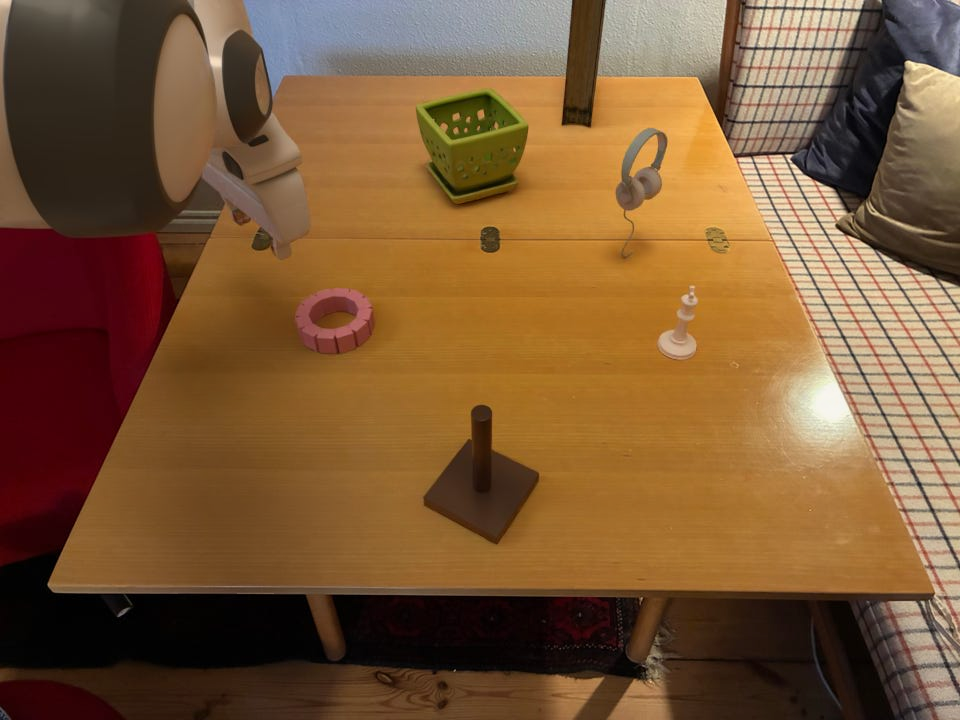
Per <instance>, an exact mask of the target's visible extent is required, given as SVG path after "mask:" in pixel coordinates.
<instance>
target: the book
mask: <svg viewBox="0 0 960 720" xmlns="http://www.w3.org/2000/svg"><path fill="white" fill-rule="evenodd" d="M606 3H607V0H571V10H570V19H569V20H570V21H569V33H568V44H567V57H566V67H565V78H564V91H563V92H564V93H563V104H562V113H561V114H562V115H561V126H565V125H569V124H575V125H582V126H585V127H589V128H592V122H593V113H594V106H595V105H594V103H595V98H596V97H595V96H596V87H597V79H598V70H599V64H600V63H599V62H600V53H601V46H602V45H601V44H602V39H603V38H602V37H603V28H604V21H605V20H604V19H605V12H606Z"/></svg>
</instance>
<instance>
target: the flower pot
mask: <svg viewBox="0 0 960 720" xmlns="http://www.w3.org/2000/svg"><path fill="white" fill-rule="evenodd" d="M480 111H483V116H484V117H482V118H480V119H479V115H478V113H479V112H480ZM415 113H416V114H415V115H416V119H417V125H418V130H419V133H420V136H421V138H422V139H421V140H422V142H423V144H424V146H425V149H426V151H427V153H428V155H429V157H430V159H431V160H432V161H428V162H426V163H425V166H426V169H427V170H428V171H429V173H430V174H431V175H432V177H433V178H434V179H435V181H436V182H437V183H438V185H439V186H440V188H442V190H443V191H444V192H445V194H446V195H447V196H448V198H449V199H450V200H451V201H452V203H454V204H456V205H462V204H465V203H468V202H473V201H476V200H479V199H485V198H488V197H491V196H495V195H499V194H507V193H508V192H509V191H511V190H513V189H515V188H516V187H517V186H518V184H519V179H518V178H517V177H516V176H515V175H514V172H515V171H516V169H517V168H518V166H519V164H520V162H521V160H522V158H523V155H524V152H525V149H526V146H527V141H528V135H529V123H528V122H527V120H526V119H525V118H524V117H523V116H522V115H521V113H520V112H518V110H516V108H514V106H513V105H511V104H510V103H509V102H508V101H507V100H506V99H505V98H504V97H503V96H502V95H500V94H499V93H498V92H496V91H495V90H494V89H492V88H490V87H489V88H481V89H477V90H471V91H467V92H461V93H456V94H452V95H449V96H444V97H439V98H435V99H433V100H429V101H425V102H423V103H418V104H417V105H415ZM457 114H458V115H459V118H457V119H454V118H453V116H454V115H457ZM468 118H469V120H468V121H467V119H468ZM443 124H445V125H446V126H447V128H446V131H444V130H443V129H442V128H441V126H442V125H443ZM496 124H497V127H496ZM456 128H457V130H458V131H457V132H455V131H454V130H455V129H456ZM465 129H467V130H466V131H465ZM514 149H515V151H514Z"/></svg>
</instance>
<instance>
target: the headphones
mask: <svg viewBox="0 0 960 720" xmlns="http://www.w3.org/2000/svg"><path fill="white" fill-rule="evenodd" d="M655 135H656V138H657V150H656V154H655V157H654V160H653V162H652V163H651V164H650V166H645V167H643V168H640V169H639V170H637V171H636V173H634V176H632V175H630V174H631V171H632V167H633V165H634V163H635V161H636V158H637V156H638V154H639V153H640V151H641V149H642V148H643V146H644V145H645V144H646V143H647V142H648V141H649V140H650V139H651V138H652V137H654V136H655ZM668 142H669V141H668V136H667V134H666V133H664V132H663V131H661V130H659V129H657V128H655V127H647V128H645V129H643V130H642V131H640V132H639V133H638V134H637V135H636V136H635V137H634V139H633V140H632V141H631V143H630V144H629V145H628V147H627V150H626V151H625V152H624V156H623V159H622V163H621V171H620V173H621V175H620V177H621V181H620V182H618V184H617V186H616V188H615V193H614V194H615V199H616V202H617V204H618V206H619V207H620V208H621V209H623V218H624V219H625V220H626V221H628V222H629V223H631V226H632V230H631V233H630V236H629V238H628V239H627V240H626V242H625V244H624V246H623V248H622V250H621V257H622V258H623V259H624V258H625V259H626V258H627V257H629V256H630V255H631V253H633V250H632V249H631V250H630V251H629V252H628V253H627V254H626V255H624V251H625V248H626V247H627V245H628V243H629V242H630V241H631V238H632V237H633V234H634V231H635V224H634V222H633V221H632V220H631V219H630V218H628V217H627V215H626V212H632V211H635V210H636V209H638V208H640V207H641V206H642V205H643V203H644V201H645V200H646V201H647V200H648V201H650V200H652V199H654V198H655V197H656V196H657V195H658V194H660V192H661V190H662V186H663V181H662V177H661V174H660V172H658V171H660V170H661V168H662V163H663V160H664V157H665V156H666V155H665V154H666V151H667V148H668Z"/></svg>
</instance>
